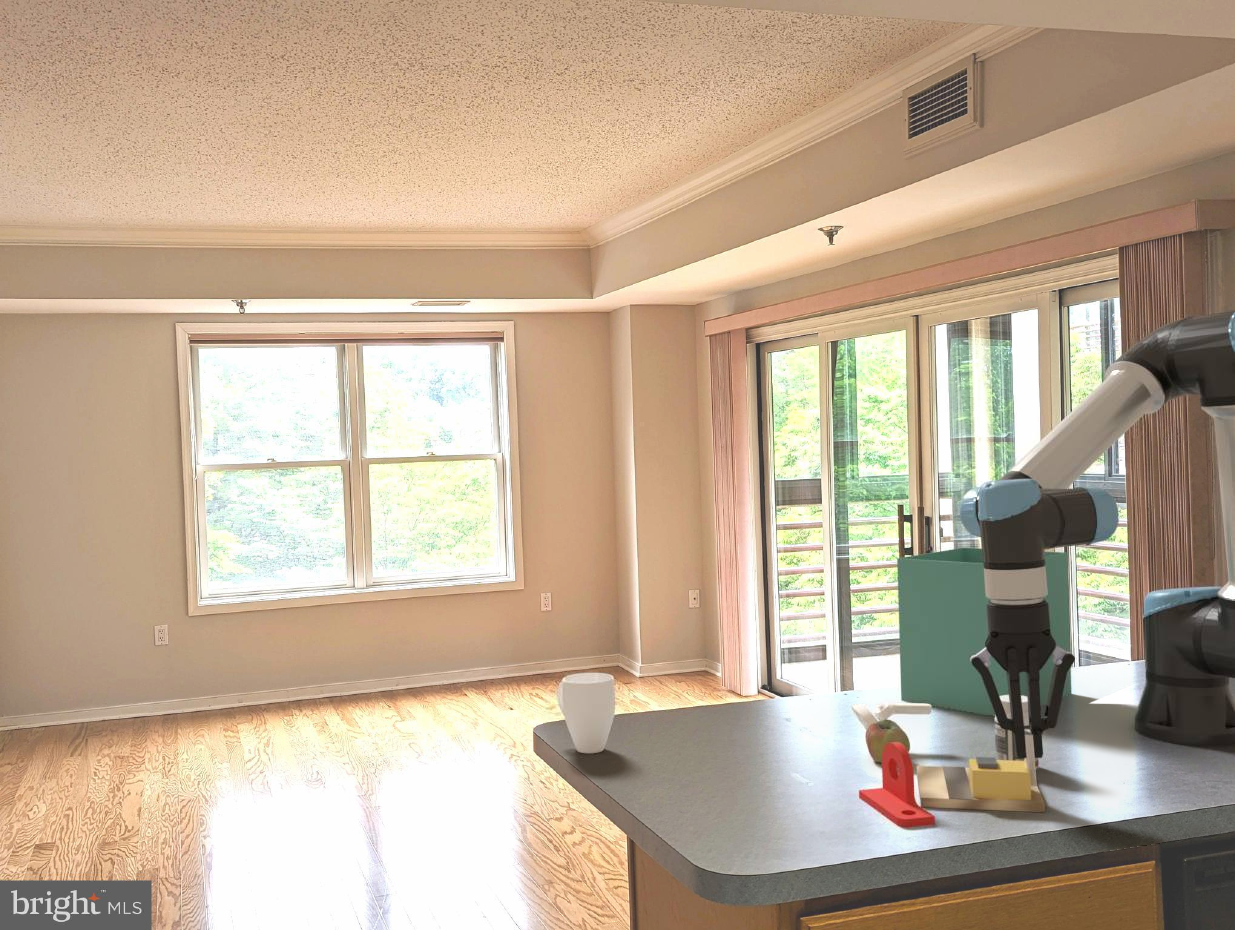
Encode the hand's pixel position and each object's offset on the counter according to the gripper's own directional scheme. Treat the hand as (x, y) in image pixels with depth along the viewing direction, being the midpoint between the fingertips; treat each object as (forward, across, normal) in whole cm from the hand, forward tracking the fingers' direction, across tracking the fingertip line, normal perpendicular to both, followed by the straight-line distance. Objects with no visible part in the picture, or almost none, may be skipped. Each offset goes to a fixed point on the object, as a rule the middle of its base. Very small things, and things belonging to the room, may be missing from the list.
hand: (1031, 782), depth 138 cm
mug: (0, +64, -20) cm, 67 cm away
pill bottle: (+3, 0, -16) cm, 16 cm away
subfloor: (+2, +6, -4) cm, 8 cm away
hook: (+2, +17, -24) cm, 29 cm away
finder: (+1, +4, 0) cm, 4 cm away
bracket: (+2, +17, +5) cm, 18 cm away
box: (+3, -1, -59) cm, 59 cm away
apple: (+2, +18, -18) cm, 25 cm away
